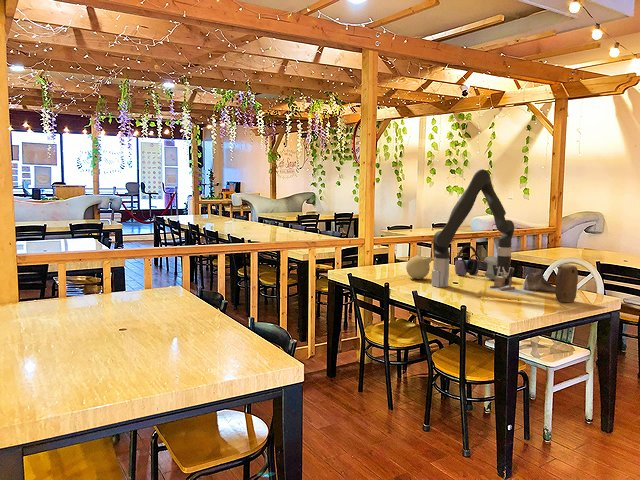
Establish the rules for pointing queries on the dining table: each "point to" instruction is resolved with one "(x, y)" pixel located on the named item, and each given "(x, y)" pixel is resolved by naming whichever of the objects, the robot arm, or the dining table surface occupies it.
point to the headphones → (467, 264)
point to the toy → (418, 267)
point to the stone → (566, 283)
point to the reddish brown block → (501, 281)
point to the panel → (510, 290)
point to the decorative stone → (491, 267)
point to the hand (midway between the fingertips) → (502, 283)
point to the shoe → (537, 283)
